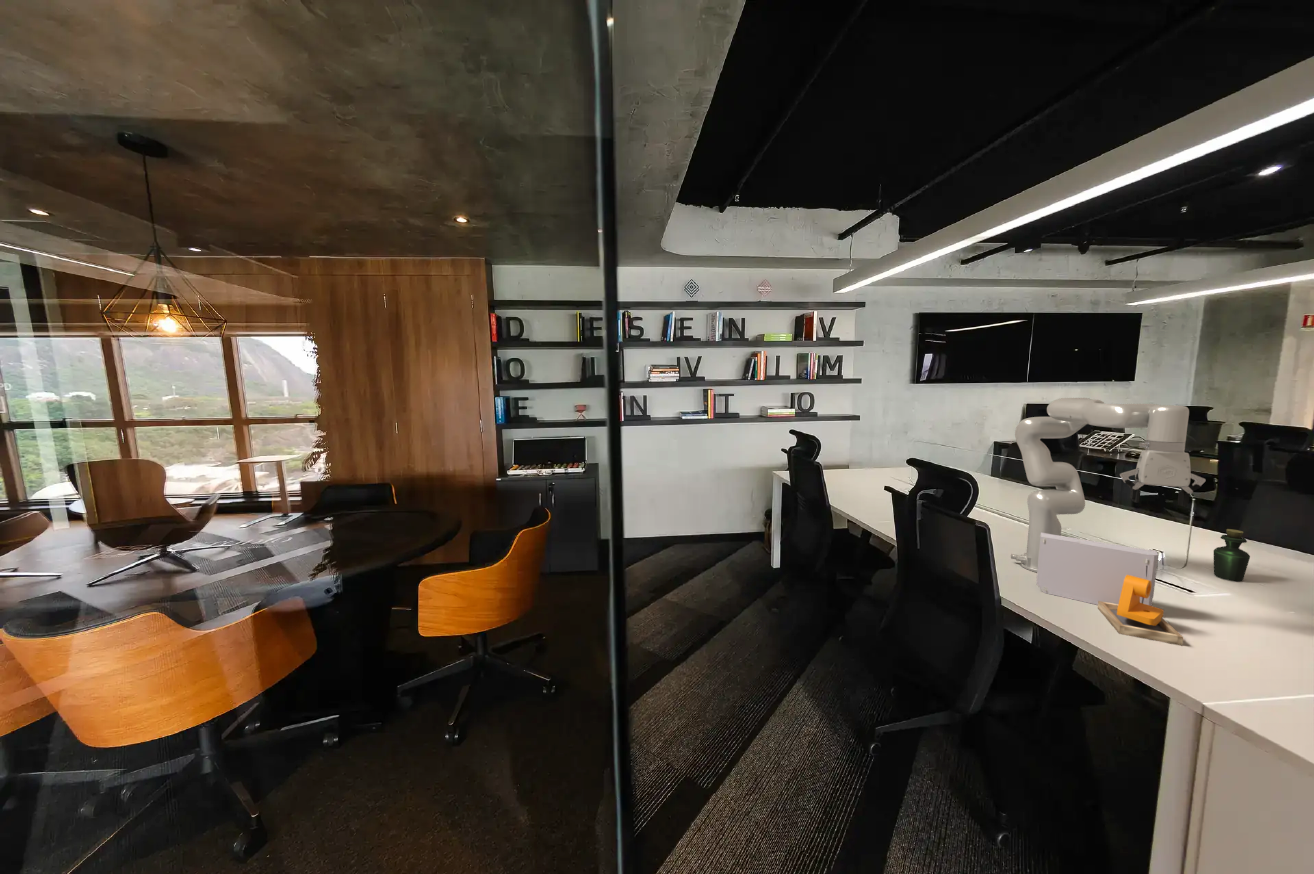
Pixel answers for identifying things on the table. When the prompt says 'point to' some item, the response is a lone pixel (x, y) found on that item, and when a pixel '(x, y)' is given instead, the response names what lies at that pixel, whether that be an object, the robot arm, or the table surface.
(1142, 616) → the bracket
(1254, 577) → the table surface
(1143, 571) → the game console
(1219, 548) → the potion bottle
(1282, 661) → the table surface
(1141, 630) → the wooden tray
